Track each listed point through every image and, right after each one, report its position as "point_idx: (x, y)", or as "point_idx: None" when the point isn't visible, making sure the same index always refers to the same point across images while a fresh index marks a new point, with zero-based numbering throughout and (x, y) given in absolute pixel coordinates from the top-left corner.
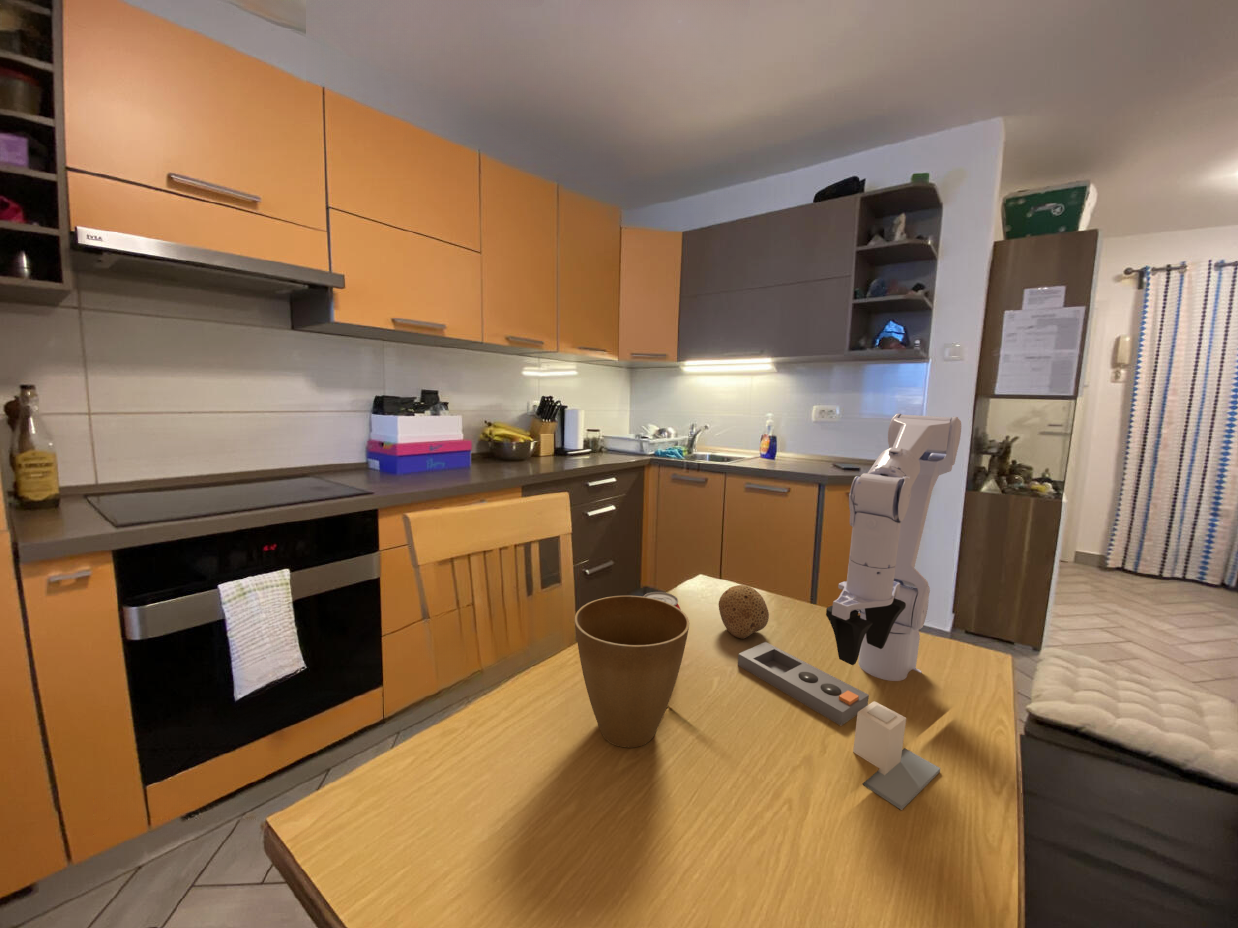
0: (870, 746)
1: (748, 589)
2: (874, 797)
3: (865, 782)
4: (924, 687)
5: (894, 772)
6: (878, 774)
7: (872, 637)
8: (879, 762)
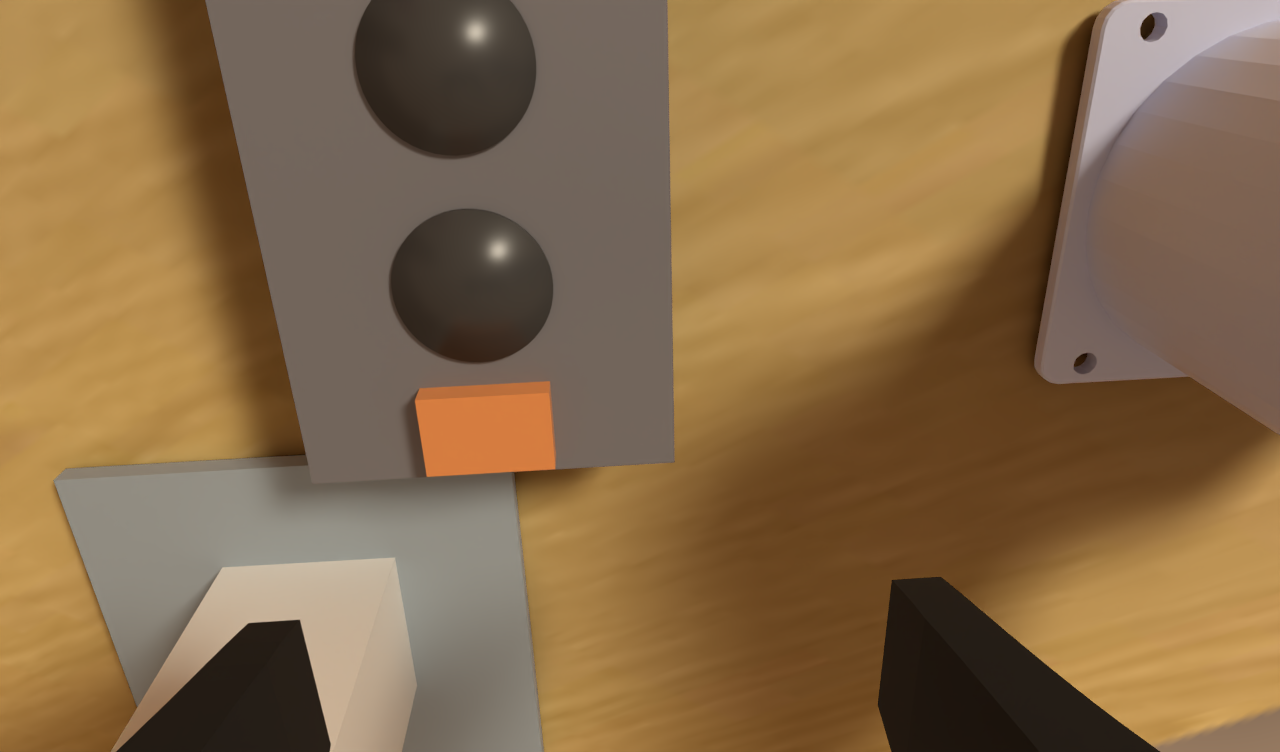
0: None
1: None
2: (125, 711)
3: (130, 679)
4: (1245, 429)
5: None
6: None
7: (926, 691)
8: None
